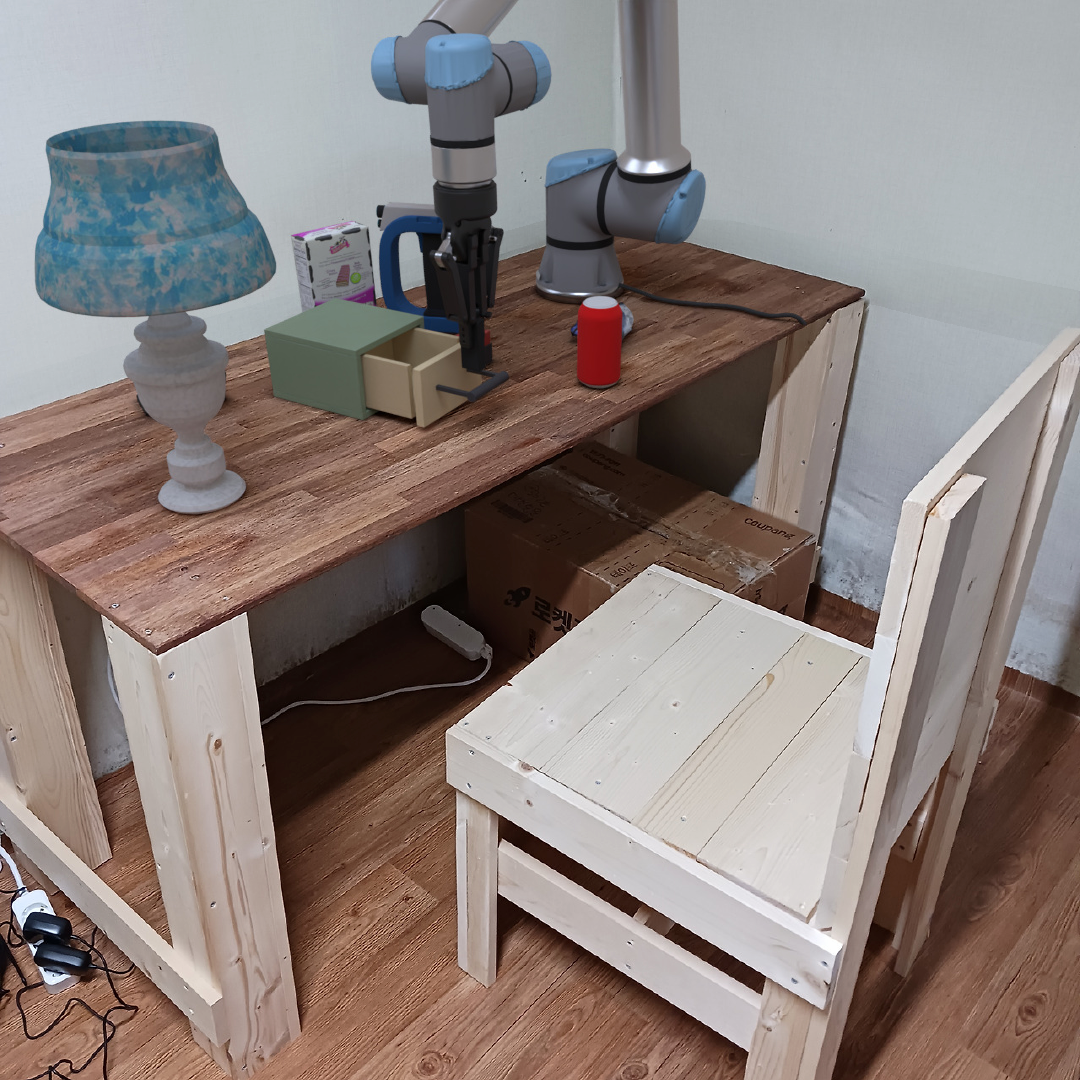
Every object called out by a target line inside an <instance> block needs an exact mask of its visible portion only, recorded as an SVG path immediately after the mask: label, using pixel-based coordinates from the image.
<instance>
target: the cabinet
mask: <svg viewBox="0 0 1080 1080" xmlns="http://www.w3.org/2000/svg"><path fill="white" fill-rule="evenodd" d="M414 327H416V328H421V329H424V317H423V316H419V315H414V314H409V313H405V312H400V311H395V310H390V309H387V308H386V307H379V306H377V307H376V306H371V305H366V304H361V303H357V302H352V301H347V300H342V299H337V298H334V299H332V300H330V301H327V302H325V303H323V304H321V305H318V306H316V307H314V308H312V309H309V310H307V311H305V312H302V311H301V313H298V314H295V315H293V316H291V317H289V318H287V319H284V320H282V321H280V322H277V323H275V324H273V325H271V326H269V327H268V326H267V328H264V329H263V332H264V338H265V347H266V352H267V359H268V366H269V371H270V372H269V373H270V380H271V387H272V392H273V397H275V398H279V399H281V400H286V401H289V402H292V403H293V402H294V403H297V404H301V405H304V406H309V407H311V408H316V409H320V410H323V411H327V412H331V413H334V414H338V415H342V416H344V417H345V416H346V417H349V418H352V419H357V420H360V421H365V420H366V419H368V418H370V417H371V416H373V415H374V414H376V413H378V412H381V411H380V410H376V409H372V408H369V407H366V405H365V395H364V385H363V375H362V365H361V356H360V355H361V354H363V353H365V352H367V351H369V350H371V349H373V348H375V347H377V346H379V345H381V344H383V343H385V342H387V341H389V340H391V339H393V338H394V337H396V336H398V335H400V334H402V333H404V332H406V331H408V330H410V329H412V328H414Z"/></svg>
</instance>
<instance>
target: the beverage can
mask: <svg viewBox="0 0 1080 1080" xmlns="http://www.w3.org/2000/svg"><path fill="white" fill-rule="evenodd" d="M618 303H619V302H618V301H617V300H616V299H615V298H611V297H606V296H595V297H590V298H587V299H586V300H584V301H583V303H582V304H580V306H579V307H578V310H577V320H578V335H577V336H576V338H577V345H576V377H577V379H578V381H579V382H580V383H581V384H583V385H585V386H586V387H589V388H592V389H607V388H610V387H611V386H613V385H615V384H618V382H619V380H620V379H621V371H622V370H621V369H622V368H621V367H622V344H623V339H622V310H621V307H620V305H619V304H618ZM621 343H622V344H621Z"/></svg>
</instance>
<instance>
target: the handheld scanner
mask: <svg viewBox="0 0 1080 1080" xmlns="http://www.w3.org/2000/svg"><path fill="white" fill-rule="evenodd" d="M375 213H376V214H375V215H376V217H377V218H378V219H377V223H376V224H377V228H379V232H382V231H383V232H382V234H381V237H380V241H379V245H378V248H379V249H378V250H379V251H378V267H379V268H378V269H379V270H378V271H379V281H380V290H381V295H382V299H383V303H384V305H385V308H386V309H390V310H395V311H400V312H405V313H409V314H414V315H419V316H423V317H424V329H426V330H431V331H435V332H440V333H445V334H459V325H458V322H454V321H449V320H447V318H446V314H445V309H444V305H443V300H442V296H441V291H440V287H439V283H438V278H437V274H436V269H435V267H434V265H433V264H432V262H431V260H430V258H429V254H430V252H431V250H435V251H438V249H439V248H440V246H441V244H442V243H443V242H442V239H441V233H442V229H443V221H442V220H441V218H440V217H439V216H437V215H436V213H435V211H434V203H432V204H431V203H415V202H413V203H412V202H397V201H396V202H395V201H394V202H393V201H389V202H388V203H387V204H378V205H377V206H376V209H375ZM406 233H415V235H416V236H417V239H418V245H419V252H420V253H421V254H422V266H423V267H422V268H423V280H424V288H425V289H424V290H425V298H426V299H425V300H426V307H424V308H423V307H419V306H417V305H415V304H413V303H412V302H410V301H409V300H408V298H407V296H406V295H405V293H404V290H403V286H402V277H401V264H400V238H401V235H402V234H406Z"/></svg>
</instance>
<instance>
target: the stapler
mask: <svg viewBox="0 0 1080 1080" xmlns="http://www.w3.org/2000/svg"><path fill="white" fill-rule="evenodd" d="M454 336H459V333H456V334H455V335H454ZM484 340H485V363H486V366H487V365H489V364H491V363H493V360H494V358H493V356H494V355H493V342H492V341H491V330H489V329H485V339H484Z"/></svg>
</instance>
